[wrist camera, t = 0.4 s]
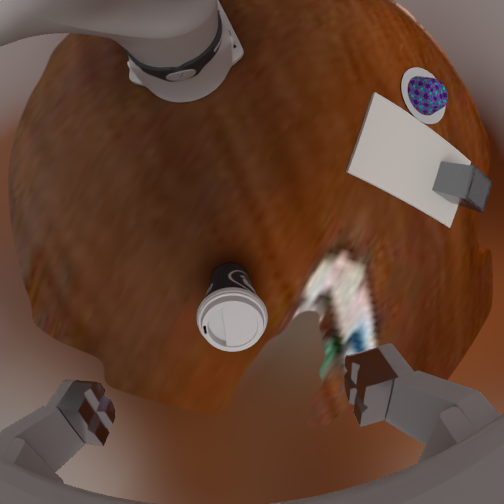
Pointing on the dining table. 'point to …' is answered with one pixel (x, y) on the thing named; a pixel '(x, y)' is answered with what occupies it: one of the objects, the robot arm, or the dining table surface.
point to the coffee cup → (231, 310)
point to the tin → (462, 185)
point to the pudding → (424, 95)
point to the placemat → (403, 158)
